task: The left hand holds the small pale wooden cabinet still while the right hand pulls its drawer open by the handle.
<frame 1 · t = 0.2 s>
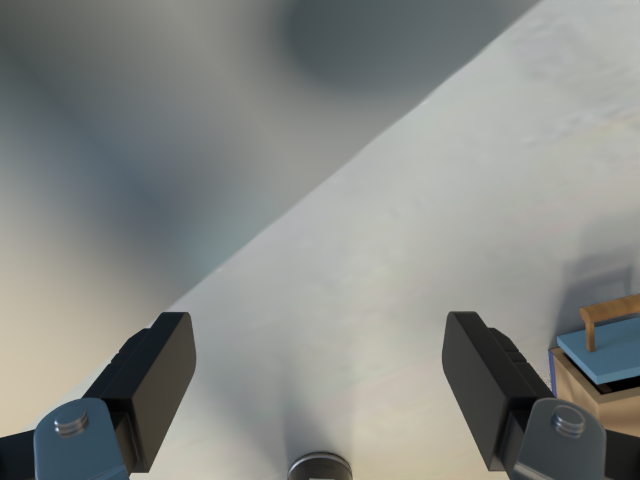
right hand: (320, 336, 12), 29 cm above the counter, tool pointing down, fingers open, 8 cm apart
drawer: (622, 376, 43), point 4 cm above the counter, slide at 1.5 cm
cabinet: (597, 389, 49), on the counter
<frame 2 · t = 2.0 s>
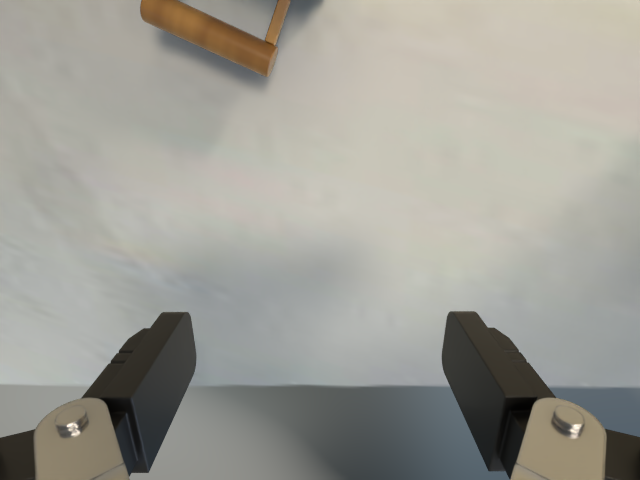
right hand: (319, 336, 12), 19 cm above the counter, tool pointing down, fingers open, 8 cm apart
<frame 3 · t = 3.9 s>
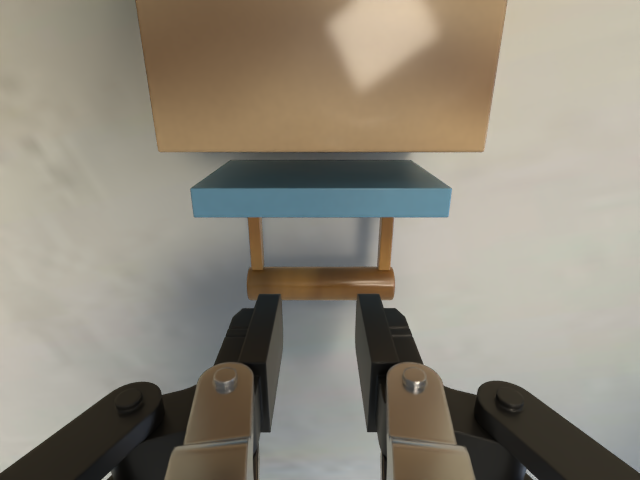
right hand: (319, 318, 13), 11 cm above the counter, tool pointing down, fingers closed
drawer: (320, 91, 16), point 4 cm above the counter, slide at 1.5 cm
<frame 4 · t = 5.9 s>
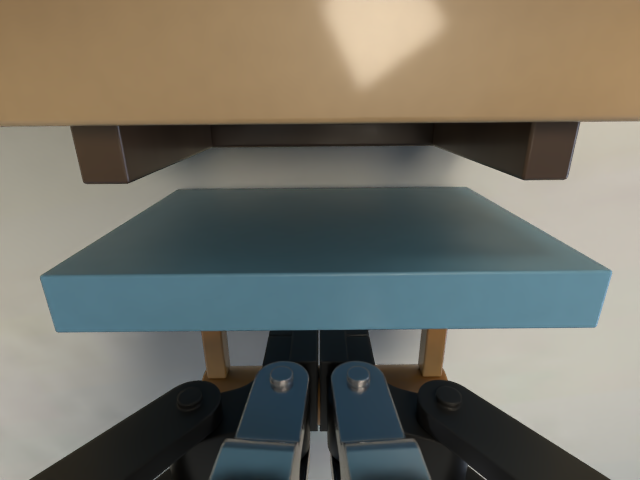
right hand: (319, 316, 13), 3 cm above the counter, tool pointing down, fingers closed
drawer: (323, 70, 9), point 4 cm above the counter, slide at 2.6 cm, touching right hand
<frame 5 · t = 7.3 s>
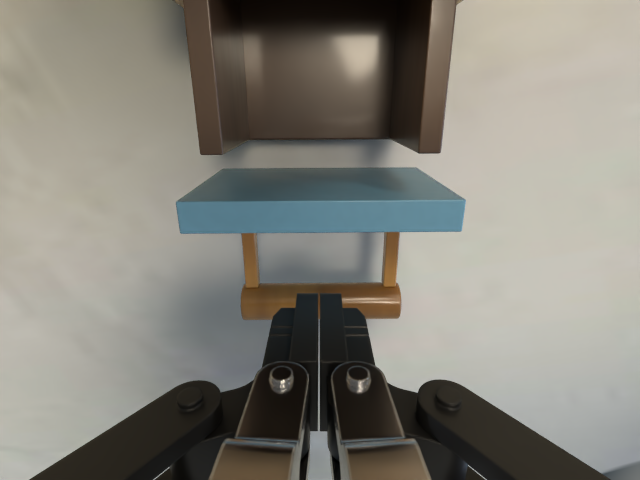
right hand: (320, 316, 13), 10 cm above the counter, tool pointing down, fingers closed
drawer: (319, 94, 15), point 4 cm above the counter, slide at 6.9 cm
when the left hand's fingers open (4 cm above the counter, at t = 8.4 s): cabinet stays where it is, on the counter.
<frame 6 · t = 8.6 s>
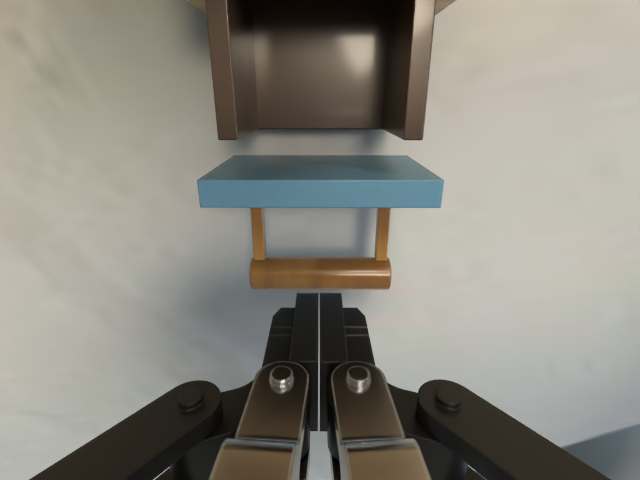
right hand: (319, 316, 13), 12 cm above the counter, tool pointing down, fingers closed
drawer: (320, 89, 17), point 4 cm above the counter, slide at 6.9 cm
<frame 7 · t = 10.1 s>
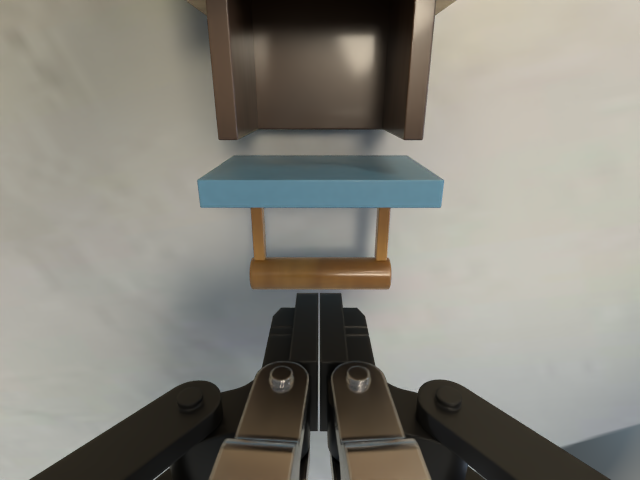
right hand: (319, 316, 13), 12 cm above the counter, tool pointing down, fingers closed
drawer: (320, 89, 17), point 4 cm above the counter, slide at 6.9 cm
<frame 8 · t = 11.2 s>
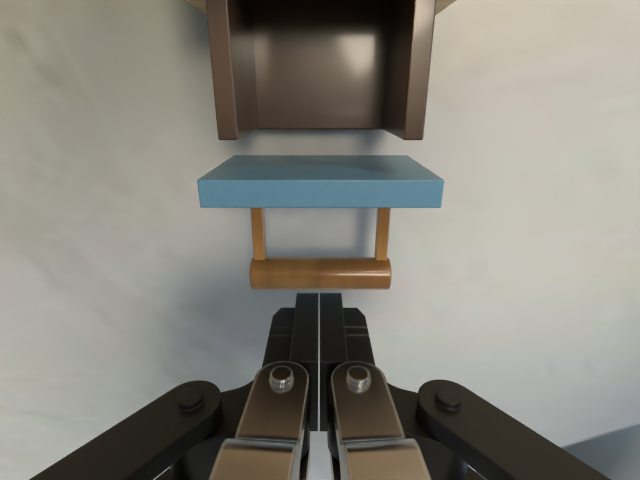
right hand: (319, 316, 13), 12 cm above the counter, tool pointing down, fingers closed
drawer: (320, 89, 17), point 4 cm above the counter, slide at 6.9 cm
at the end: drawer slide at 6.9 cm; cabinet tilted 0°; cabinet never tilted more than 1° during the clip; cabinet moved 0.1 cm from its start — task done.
